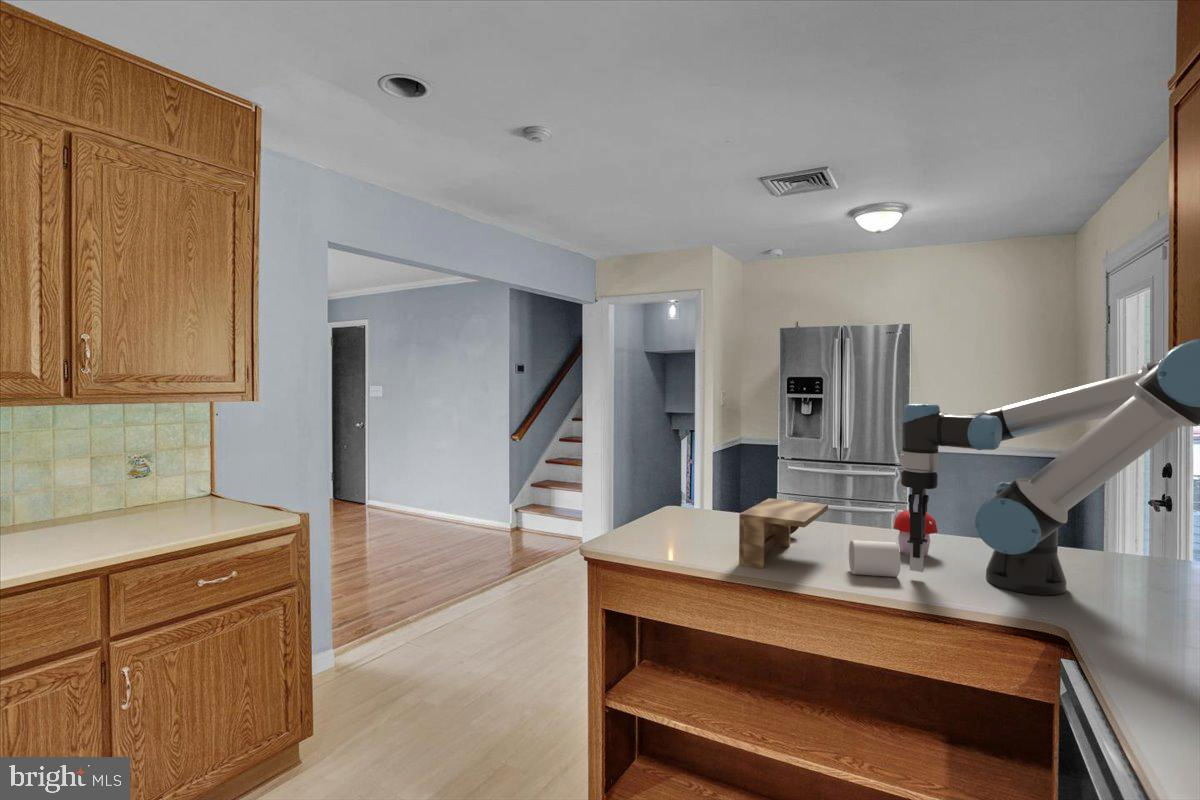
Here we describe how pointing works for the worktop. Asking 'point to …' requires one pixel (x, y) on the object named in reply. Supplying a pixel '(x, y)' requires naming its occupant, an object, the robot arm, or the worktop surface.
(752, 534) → the small wooden shelf
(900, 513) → the mushroom
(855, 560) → the mug
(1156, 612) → the worktop surface
